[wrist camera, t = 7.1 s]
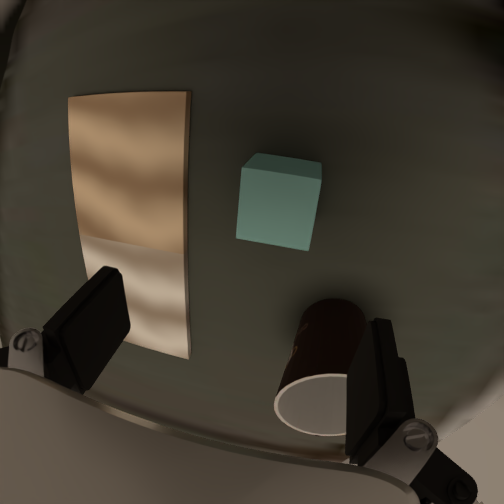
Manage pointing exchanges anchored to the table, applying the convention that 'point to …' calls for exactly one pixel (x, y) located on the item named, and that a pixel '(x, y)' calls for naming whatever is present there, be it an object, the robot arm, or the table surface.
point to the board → (136, 205)
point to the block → (278, 200)
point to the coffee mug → (320, 368)
